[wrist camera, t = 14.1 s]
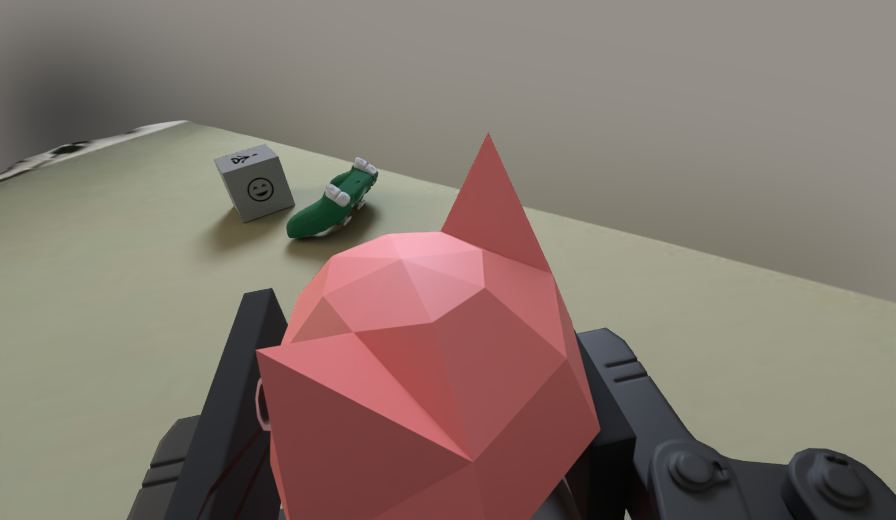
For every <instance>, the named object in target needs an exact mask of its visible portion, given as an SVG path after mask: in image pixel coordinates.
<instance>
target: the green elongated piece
mask: <svg viewBox="0 0 896 520" xmlns="http://www.w3.org/2000/svg"><path fill="white" fill-rule="evenodd" d="M355 161H356V162H355V163H354V165H353V166H352V169H351V170H350V171H348V172H346V173H343V174H340V175H338V176H337V177H335V178H334V179H332V181H331V182H330V184H328V185H327V186H326V191H325V192H324V195H323V197H322V198H321V199H320V200H319V201H317V202H316V203H314V204H312V205H311V206H309V207H307V208H305V209H304V210H302V211H300V212H298V213H297V214H296V215H294V216H293V217H292V218H291V219H290V220H289V221H288V223H287V234H288V237H289V238H303V237H309V236H313V235H315V234H318V233H320V232H323V231H326V230H327V229H329V228H331V227H333V226H335V225H340V224H341V223H342V222H344V224H343V226H345V225H346V224H347V223H348V222H349V220H350V219H351V216H349V217H347V216H348V214H349V211H350V210H351V209H354V208H355V207H356V206H358V208H357V209H358V210H359V209H360V208H361V207H362V206H363V204H364V203H365V200H363V202H362V201H361V200H362V199H363V195H364V194H365V193H367V192H368V191H369V190H370V189H371V188H370V187H371V186H373V185H374V183H375V182H376V180H377V176H378V172H377V170H376V169H375V167H374V166H372V165H371V164H370V165H368V162H366V161H364V160H363V159H361V158H359V157H356V159H355Z"/></svg>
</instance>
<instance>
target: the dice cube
mask: <svg viewBox="0 0 896 520" xmlns="http://www.w3.org/2000/svg"><path fill="white" fill-rule="evenodd" d="M214 161H215V164H216V166H217V168H218V171H219V173H220V175H221V177H222V180H223V182H224V184H225V187H226V189H227V191H228V194H229V196H230V198H231V200H232V203H233V205H234V207H235V209H236V211H237V212H238V214H239V216H240V218H241V219H242V221H243V223H245V222H248V221H251V220H254V219H257V218H259V217H262V216H265V215H268V214H271V213H274V212H276V211H279V210H282V209H285V208H288V207H291V206H293V205H295V203H294V200H293V197H292V194H291V191H290V189H289V186H288V183H287V180H286V177H285V174H284V172H283V169H282V166H281V163H280V160H279V157H278V156H277V155H276V154H275V153H274V152H273V151H272V150H271V149H270V148H269V147H268V146H267V145H266V144H264V145H260V146H257V147H253V148H250V149H247V150H243V151H240V152H236V153H233V154H230V155H226V156H223V157H220V158H216V159H214Z"/></svg>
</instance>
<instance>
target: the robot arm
mask: <svg viewBox="0 0 896 520" xmlns="http://www.w3.org/2000/svg"><path fill="white" fill-rule="evenodd" d="M287 327H288V324H287V322H286V319H285V317H284V315H283V312H282V310H281V308H280V305H279V303H278V301H277V298H276V296H275V294H274V291H273V289H272V288H269V289H264V290H259V291H254V292H249V293H244V295H243V298H242V301H241V304H240V306H239V309H238V312H237V315H236V318H235V320H234V323H233V326H232V329H231V332H230V334H229V337H228V340H227V343H226V346H225V348H224V351H223V354H222V357H221V360H220V362H219V365H218V368H217V371H216V374H215V376H214V379H213V382H212V385H211V388H210V390H209V393H208V396H207V399H206V402H205V404H204V407H203V410H202V413H201V415H197V416H192V417H188V418H183V419H178V420H177V421H176V422H175V424H174V425H173V426H172V427H171V429H170V430H169V431H168V432H167V433H166V435H165V436H164V437H163V438H162V440H161V441H160V442H159V445H158V447H157V450H156V452H155V454H154V457H153V459H152V461H151V464H150V466H151V468H150V469H148V471H147V473H146V475H145V478H144V480H143V483H142V489H140V490H139V492H138V494H137V497H136V499H135V501H134V504H133V506H132V509H131V511H130V513H129V516H128V518H127V520H196V519H197V517H198V515H199V512H200V510H201V508H202V505H203V503H204V501H205V498H206V496H207V494H208V491H209V489H210V488H211V487H212V486H213V484H214V483H215V482H216V481H217V479H218V478H219V477H220V476H221V474H222V473H223V472H224V471H225V470H226V468H227V467H228V466H229V465H230V463H231V462H232V461H233V460H234V459H235V457H236V456H237V455H238V454H239V452H240V451H241V450H242V449H243V447H244V446H245V445H246V444H247V443H248V441H249V440H250V439H251V438H252V436H253V435H254V434H255V433H256V431H257V430H258V429H259V428H260V427H261V424H260V422H259V420H258V418H257V409H256V400H255V398H256V391H257V385H258V381H259V379H260V378H261V375H260V370H259V365H258V360H257V355H256V350H258V349H264V348H269V347H275V346H280V345H281V343H282V340H283V337H284V335H285V332H286V329H287ZM574 332H575V330H574ZM575 336H576V340H577V343H578V347H579V351H580V355H581V358H582V362H583V366H584V370H585V373H586V377H587V381H588V385H589V388H590V392H591V396H592V400H593V403H594V407H595V411H596V415H597V418H598V422H599V426H600V431H599V433H598V434H597V435H596V436H595V438H594V439H593V440H592V441H591V443H590V444H589V445H588V446H587V448H586V449H585V450H584V452H583V453H582V454H581V455H580V457H579V458H578V459H577V460H576V462H575V463H574V464H573V465H572V467H571V468H570V469H569V471H568V472H567V473H566V474H565V479H566V481H567V484H568V486H569V489H570V491H571V494H572V496H573V499H574V501H575V504H576V506H577V509H578V511H579V514H580V516H581V519H582V520H624V516H625V510H626V509H627V511H628V513H629V515H630V517H631V519H632V520H896V495H895V494H894V493H893V492H892V490H891V489H890V488H889V487H888V486H887V485H886V484H885V483H884V482H883V481H882V480H881V479H880V478H879V477H878V476H877V475H876V474H874V473H873V472H872V471H871V470H870V469H869V468H867V467H866V466H865V465H864V464H862V463H860V462H858V461H856V460H854V459H853V458H851V457H849V456H847V455H845V454H842V453H839V452H835V451H832V450H828V449H817V448H808V449H805V450H803V451H800V452H798V453H796V454H795V455H794V457H793V458H792V459H791V461H790V462H789V464H788V465H783V464H771V463H760V462H749V461H741V460H736V459H731V458H728V457H725V456H723V455H721V454H719V453H718V452H717V451H716V450H715V449H713V448H711V447H710V446H708V445H706V444H704V443H702V442H700V441H698V440H696V439H695V438H694V437H693V436H692V434H691V433H690V432H689V431H688V430H687V428H686V427H685V426H684V424H683V423H682V421H681V420H680V418H679V417H678V416H677V414H676V413H675V411H674V410H673V408H672V407H671V406H670V404H669V403H668V401H667V400H666V399H665V397H664V396H663V394H662V393H661V391H660V390H659V389H658V387H657V386H656V384H655V383H654V381H653V380H652V379H651V377H650V376H648V375H647V371H646V370H645V369H644V367H643V366H642V364H641V363H640V362H638V361H637V357H636V356H635V354H634V353H633V352H632V350H631V349H630V347H629V346H628V344H627V343H626V342H625V340H623V339H622V338H620V337H619V336H617V335H616V334H614V333H613V332H612V331H610V330H609V329H607V328H602V329H597V330H592V331H588V332H583V333H578V334H576V332H575ZM270 438H271V431H267V430H263V432H262V433H261V434H260V435H259V437H258V438H257V439H256V440H255V442H254V443H253V444H252V445H251V447H250V448H249V449H248V450H247V452H246V453H245V454H244V455H243V457H242V458H241V459H240V460H239V462H238V463H237V464H236V465H235V467H234V468H233V469H232V470H231V472H230V473H229V474H228V475H227V477H226V478H225V479H224V480H223V482H222V483H221V484H220V485H219V487H218V488H217V489H216V490H215V492H214V493H213V494H212V495H211V497H210V499H209V501H208V503H207V505H206V507H205V508H204V510H203V512H202V514H201V516H200V518H199V520H232V519H233V516H234V514H235V512H236V510H237V508H238V506H239V504H240V502H241V499H242V497H243V495H244V493H245V491H246V489H247V487H248V485H249V482H250V480H251V478H252V476H253V474H254V472H255V470H256V468H257V466H258V463H259V461H260V459H261V457H262V455H263V453H264V451H265V449H266V446H267V444H268V442H269V440H270ZM280 505H281V499H280V496H279V492H278V489H277V485H276V482H275V478H274V475H273V471H272V468H271V464H270V450H269V452H268V454H267V456H266V458H265V461H264V463H263V465H262V467H261V469H260V471H259V474H258V476H257V478H256V480H255V482H254V484H253V486H252V489H251V491H250V493H249V495H248V497H247V499H246V502H245V504H244V506H243V508H242V510H241V512H240V515H239V517H238V519H237V520H278V518H279V511H280Z"/></svg>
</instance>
